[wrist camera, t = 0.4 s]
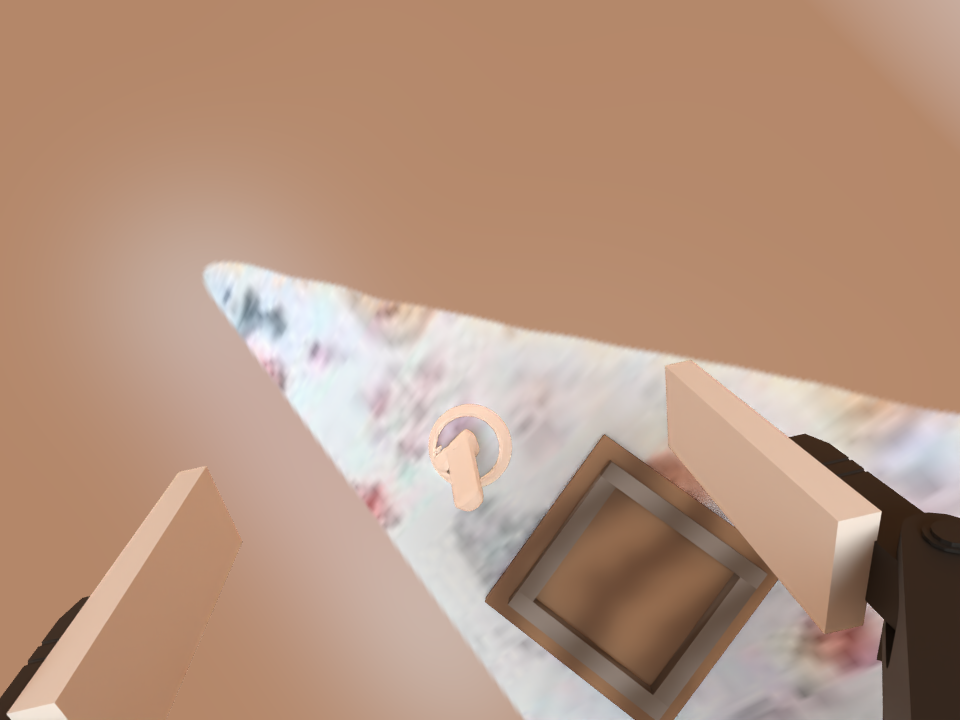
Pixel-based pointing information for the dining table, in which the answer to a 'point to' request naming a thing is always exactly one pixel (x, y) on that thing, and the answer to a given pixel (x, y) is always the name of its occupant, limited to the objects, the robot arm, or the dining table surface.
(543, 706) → the dining table surface
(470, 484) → the hook
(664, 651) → the picture frame
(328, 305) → the dining table surface
